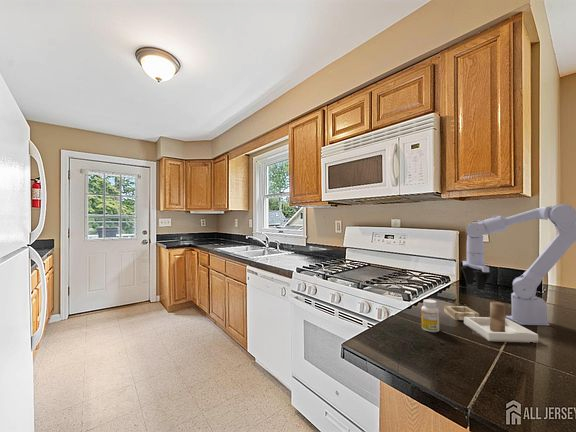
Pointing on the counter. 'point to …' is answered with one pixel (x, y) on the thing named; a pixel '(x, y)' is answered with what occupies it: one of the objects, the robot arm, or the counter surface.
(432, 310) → the supplement bottle
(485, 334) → the tray
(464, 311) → the collar
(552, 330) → the counter surface
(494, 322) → the wooden dowel
